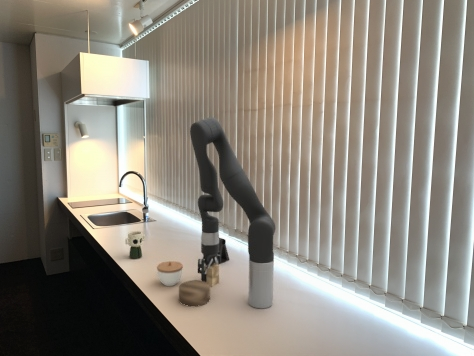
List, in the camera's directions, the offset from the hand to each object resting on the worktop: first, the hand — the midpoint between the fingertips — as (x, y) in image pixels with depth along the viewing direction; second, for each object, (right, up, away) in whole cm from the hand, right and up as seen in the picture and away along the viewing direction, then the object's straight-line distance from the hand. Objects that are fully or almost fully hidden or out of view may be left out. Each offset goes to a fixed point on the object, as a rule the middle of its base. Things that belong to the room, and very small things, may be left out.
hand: (209, 278), depth 150 cm
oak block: (0, -2, +1) cm, 3 cm away
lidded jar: (-17, -2, +1) cm, 17 cm away
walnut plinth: (-5, -4, -14) cm, 15 cm away
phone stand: (+3, +1, +27) cm, 27 cm away
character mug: (-41, +2, +31) cm, 51 cm away
